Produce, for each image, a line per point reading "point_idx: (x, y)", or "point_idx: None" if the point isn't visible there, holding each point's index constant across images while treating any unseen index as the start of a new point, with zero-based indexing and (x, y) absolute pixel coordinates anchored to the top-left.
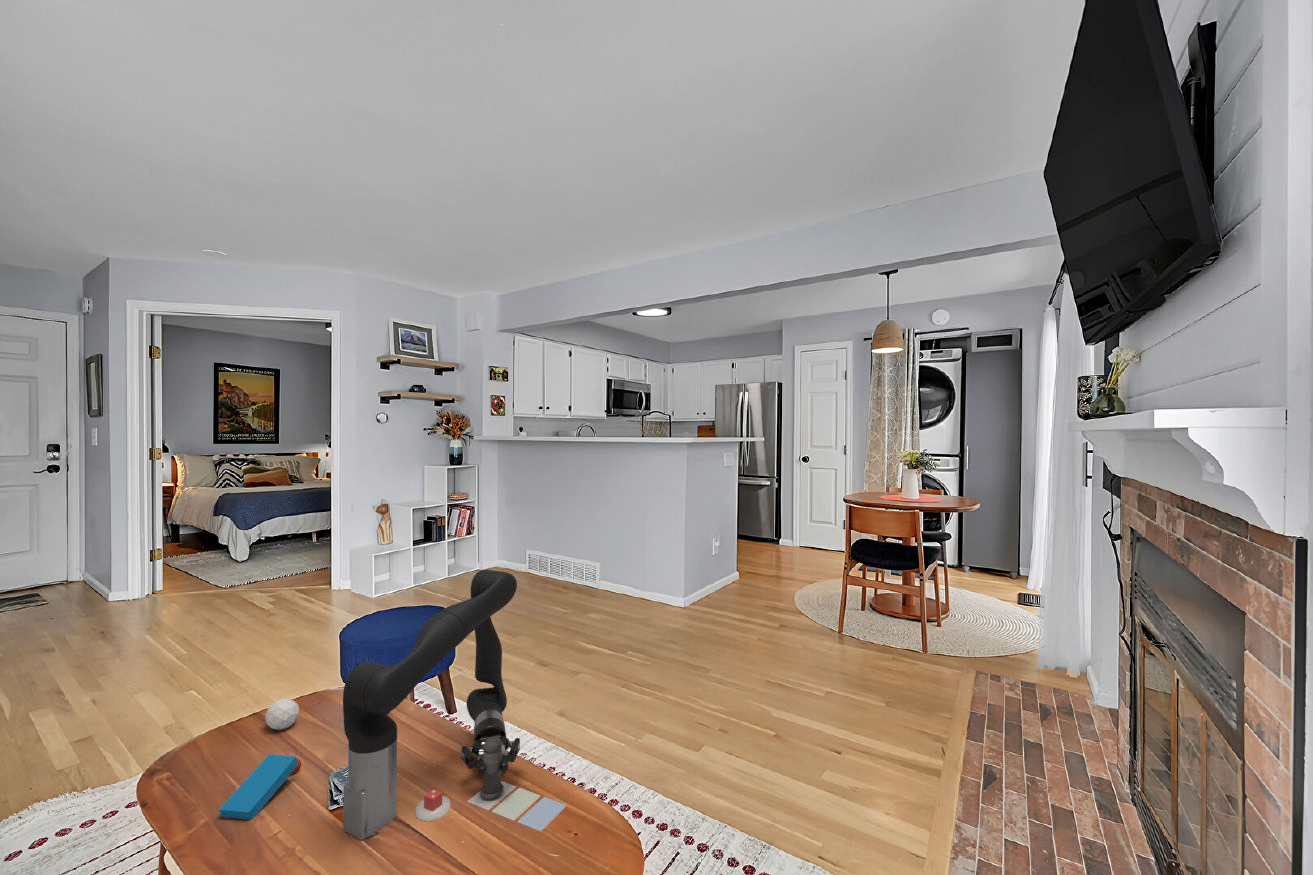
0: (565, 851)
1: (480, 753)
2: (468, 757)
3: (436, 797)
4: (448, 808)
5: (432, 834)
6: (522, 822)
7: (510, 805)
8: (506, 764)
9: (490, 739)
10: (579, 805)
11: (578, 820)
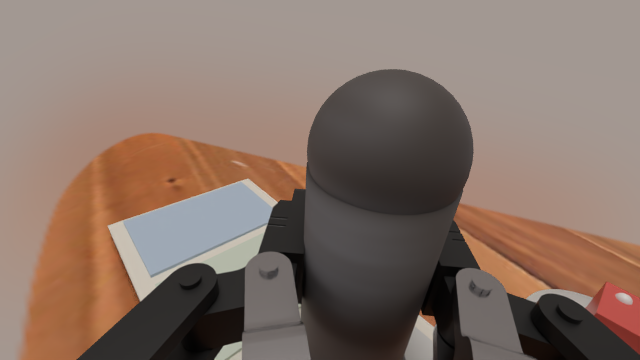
0: (217, 162)
1: (498, 340)
2: (593, 318)
3: (601, 295)
4: None
5: (517, 277)
6: (269, 211)
7: None
8: (285, 201)
9: (419, 75)
10: (77, 239)
11: (134, 202)
